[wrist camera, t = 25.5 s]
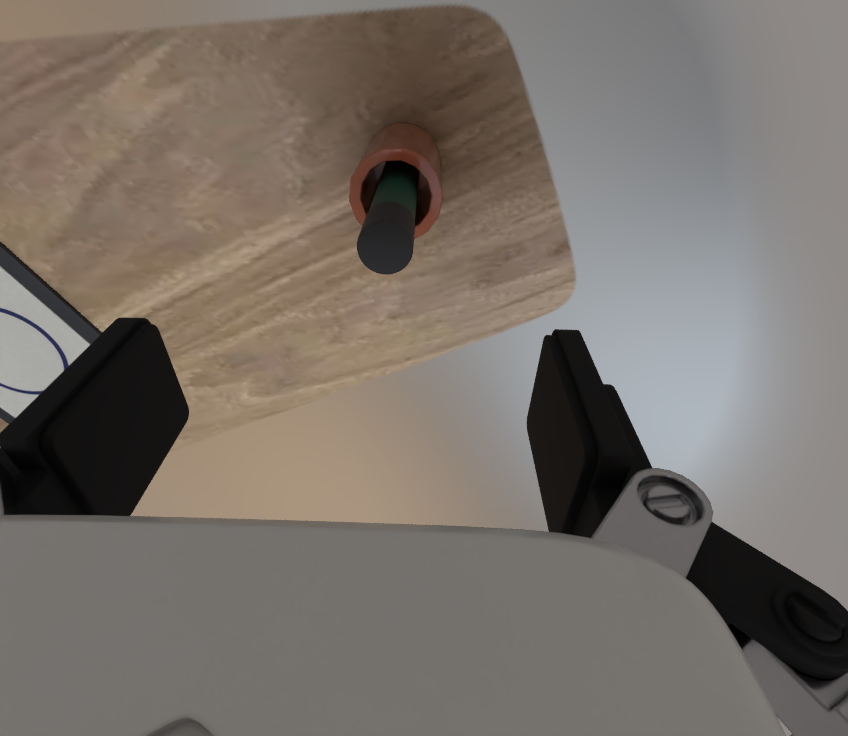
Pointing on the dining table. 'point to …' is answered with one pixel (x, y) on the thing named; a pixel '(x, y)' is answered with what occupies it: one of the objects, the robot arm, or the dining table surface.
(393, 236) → the marker
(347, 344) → the dining table surface
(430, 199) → the pen pot
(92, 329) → the target board
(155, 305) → the dining table surface
